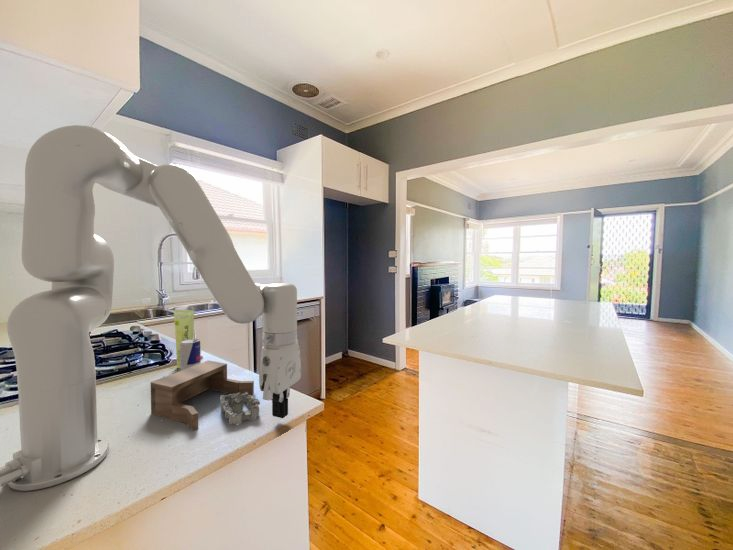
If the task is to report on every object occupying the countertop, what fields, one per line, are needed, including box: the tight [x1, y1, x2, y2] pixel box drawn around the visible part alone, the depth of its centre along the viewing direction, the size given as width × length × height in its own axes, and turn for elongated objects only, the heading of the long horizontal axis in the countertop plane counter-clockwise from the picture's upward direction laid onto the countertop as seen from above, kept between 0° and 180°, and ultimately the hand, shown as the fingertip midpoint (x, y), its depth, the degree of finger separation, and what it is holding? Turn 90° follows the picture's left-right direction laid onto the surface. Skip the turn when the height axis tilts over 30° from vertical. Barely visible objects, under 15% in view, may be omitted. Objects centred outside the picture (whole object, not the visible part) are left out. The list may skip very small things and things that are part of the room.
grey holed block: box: [219, 392, 261, 425], centre depth 73 cm, size 11×8×4 cm
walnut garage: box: [150, 360, 255, 431], centre depth 76 cm, size 19×16×8 cm
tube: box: [173, 309, 195, 369], centre depth 101 cm, size 6×5×20 cm
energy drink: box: [179, 338, 202, 371], centre depth 91 cm, size 5×5×12 cm
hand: (280, 415), depth 69 cm, fingers closed
